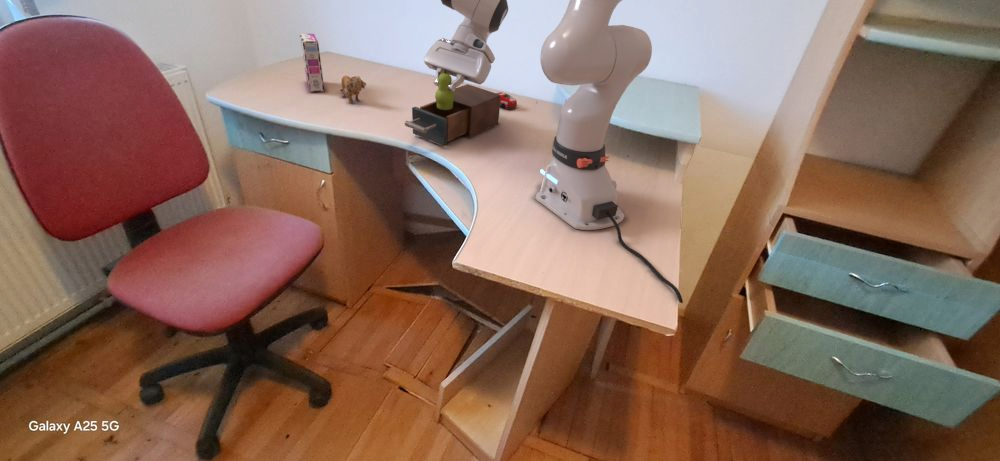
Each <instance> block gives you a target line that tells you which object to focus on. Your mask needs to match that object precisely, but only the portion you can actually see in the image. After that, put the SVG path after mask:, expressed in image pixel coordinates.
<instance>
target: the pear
mask: <svg viewBox="0 0 1000 461" xmlns="http://www.w3.org/2000/svg"><path fill="white" fill-rule="evenodd" d="M450 82H453V80H452V75H449V74H448V73H446V69H444V73H442V74H441V75H440V76H439V79H438V86H437V87H438V88H437V90H436V92H435V94H434V95H435V96H434V98H435V101H437V108H438V109H441V110H450V109H452V108H453V101H454V93H453V91H450V90H449V89H448V88H447V86H448V85H449V83H450Z"/></svg>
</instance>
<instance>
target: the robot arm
mask: <svg viewBox="0 0 1000 461" xmlns="http://www.w3.org/2000/svg"><path fill="white" fill-rule="evenodd" d="M621 2H623V0H569V2H568V5H567V7H566V10H565V13H564V15H563V17H562V18H561V20H560V22H559V23H558V25H557V26H556V28H555V29H553V31H552V32H550V34H549V35H547V37H545V40H544V42H543V43H542V46H541V50H540V54H539V55H540V56H539V57H540V59H539V60H540V66H541V70H542V73H543V74H544V76H545V77H546V78H547V80H548V81H549V82H551V83H553V84H557V85H563V86H573V87H575V86H579V87H578V88H577V90H576V91H575V92H574V93H573V94H572V95H570V96H569V97H568V98H567V99H566V100H565V101H564V103H563V104H562V106H561V108H560V113H559V119H558V123H557V124H558V125H557V131H556V135H555V136H554V138H553V142H552V145H551V146H552V148H551V154H552V156H551V158H550V160H549V162H548V164H547V165H546V168H545V170H544V169H543V168H541V169H540V172H539V173H540V174H542V175H543V177H542V182H541V186H540V189H539V191H538V192H537V193H536V194H535V200H536V201H537V202H539V204H541V205H542V206H544V207H545V208H546V209H548V210H550V211H551V212H552V213H554V214H555V215H556V216H557V217H559V218H560V219H561V220H563V221H564V222H565V223H567V224H568V225H570V226H571V227H572V228H574V229H576V230H579V231H580V230H581V231H594V230H595V231H596V230H601V229H607V228H610V227H611V228H612V227H615V230H616V232H617V239H618V241H619V243H620V245H621V246H622V247H623V248H624V249H625V250H626V251H628V252H630V253H632V254H633V255H635V256H637V257H638V258H639V259H640V260H642V262H644V264H646V266H647V267H648V268H649V269H650V270H651V271H652V272H653V273H654V274H655V275H656V277H658V279H660V281H662V282H663V283H664V284H666V285H667V286H668V287H669V288H671V289H672V290H673V291H674V293H675V295H676V297H677V300H678V302H679V303H680V304H684V300H683V296H682V295H681V293H680V291H679V289H678V287H676V285H674V284H673V283H672V282H671V281H669V280H668V279H667V278H665V277H664V276H663V275H662V273H660V272H659V271H658V269H656V268H655V267H654V265H653V264H652V263H651V262H649V260H648V259H647V258H646V257H644V256H643V255H642V254H641V253H640V252H638V251H636V250H634V249H633V248H631V247H630V246H628V245H627V244H626V242H624V240H623V237H622V231H621V228H620V226H619V224H620V223H622V222H623V221H624V219H625V214H624V212H623V211H622V209H621V208H620V207H619V205H618V198H619V197H618V191H617V187H618V186H617V181H615V180H612V178H611V175H610V173H609V171H608V168H607V166H606V162H609V161H610V159H609V158H610V156H609V155H606V152H607V151H606V150H607V149H606V144H605V142H606V138H607V134H608V130H609V127H610V123H611V119H612V116H613V114H614V111H615V109H616V107H617V105H618V103H619V102H620V100H621V98H622V96H623V95H624V93H625V92H626V90H627V89H628V87H629V86H630V85H631V84H632V82H633V81H634V80H635V79H636V78H637V77H638V76H639V75H640V74H642V73H643V72H644V71H645V70H646V69H647V68H648V66H649V64H650V62H651V59H652V55H653V54H652V52H653V46H652V41H651V39H650V36H649V35H648V33H647V32H646V31H644V30H643V29H641V28H638V27H634V26H631V25H625V24H617V25H616V24H614V25H609V24H610V21H611V18H612V16H613V13H614V11H615V9H616V7H617V6H618V5H619V4H620V3H621ZM440 3H441V4H442V5H443V6H445V7H446V8H449V9H451V10H453V11H456V12H457V13H458V14H460V15H462V16H464V19H463V21H462V22H461V23H460V24H459V25H458V27H457V28H456V29H455V32H454V34H453V36H452V38H451V39H446V38H445V37H444V38H443V37H442V38H441V39H437V40H435V42H434V43H433V44H432V46H431V47H430V48H429V49H428V51H427V53H426V54H425V55H424V58H423V62H424V64H425V65H426V67H427V68H428V69H430V70H434V71H435V79H434V80H433V84H434V86H436V87H438V79H439V76H440V75H441V74H442V73H444V69H446V73H448V74H449V75H450V76H451V77H455V79H454V80H452V82H450V83H449V85H448V86H447V88H448V89H449V90H450V91H453V92H454V91H455V89H456V88H458V87H460V85H461V86H462V84H464V82H465V81H468V82H470V83H474V84H476V85H482V84H484V83H485V82H486V80H487V79H488V76H489V75H490V72H491V70H492V64H493V63H494V62H495V60H496V57H495V54H494V52H493V50H492V49H491V48H490V46H489V45H488V44H487V42H488V38H489V36H490V35H492V34H493V33H495V32H497V31H499V29H500V27H501V25H502V23H503V21H504V20H505V18H506V17H507V15H508V13H509V4H508V0H440Z"/></svg>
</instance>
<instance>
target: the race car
mask: <svg viewBox="0 0 1000 461" xmlns="http://www.w3.org/2000/svg"><path fill="white" fill-rule="evenodd" d="M495 93H496V94H499V95H501V97H500V98H501V99H500V108H501V109H502V110H506V109H507V110H509V109H511V110H512V109H514V108H517V107H518V103H517V99H516V98H515V97H513V96H512V95H510V94H507V93H506V92H495Z"/></svg>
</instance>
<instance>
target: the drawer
mask: <svg viewBox="0 0 1000 461" xmlns="http://www.w3.org/2000/svg"><path fill="white" fill-rule="evenodd" d="M411 116H412V117H411V118H412V119H411V120H405V121H404V126H405V127H407V128H410V129H412V134H413V135H416V136H417V137H421V138H423V139H424V140H428V141H430V142H433V143H435V144H437V145H440V146H443V147H446V146H447V144H448V142H450V141H452V140H455V139H457V138H459V137H461V136H464V135H463V134H465V133H468V127H469V108H466V107H463V106H460V105H457V104H455V103H453V108H452V109H450V110H441V109H438V108H437V101H436V100H434V101H432V102H429V103H426V104H424V105H421V106H420V107H417V106H412V107H411Z"/></svg>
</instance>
